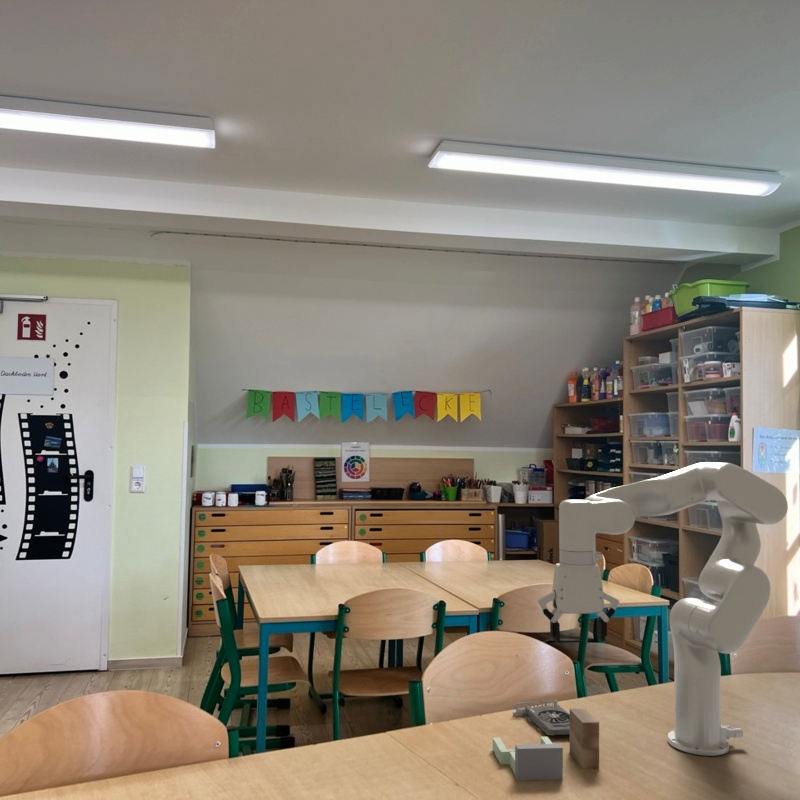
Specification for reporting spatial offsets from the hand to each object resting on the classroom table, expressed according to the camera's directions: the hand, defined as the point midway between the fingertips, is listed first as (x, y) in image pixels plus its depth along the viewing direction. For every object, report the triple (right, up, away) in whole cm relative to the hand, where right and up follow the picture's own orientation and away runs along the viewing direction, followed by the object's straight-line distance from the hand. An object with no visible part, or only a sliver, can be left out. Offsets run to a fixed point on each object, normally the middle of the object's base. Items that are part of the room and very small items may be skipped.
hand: (578, 640), depth 157 cm
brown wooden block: (+1, -24, -2) cm, 24 cm away
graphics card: (-3, -26, +17) cm, 31 cm away
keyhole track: (-11, -24, -5) cm, 27 cm away
